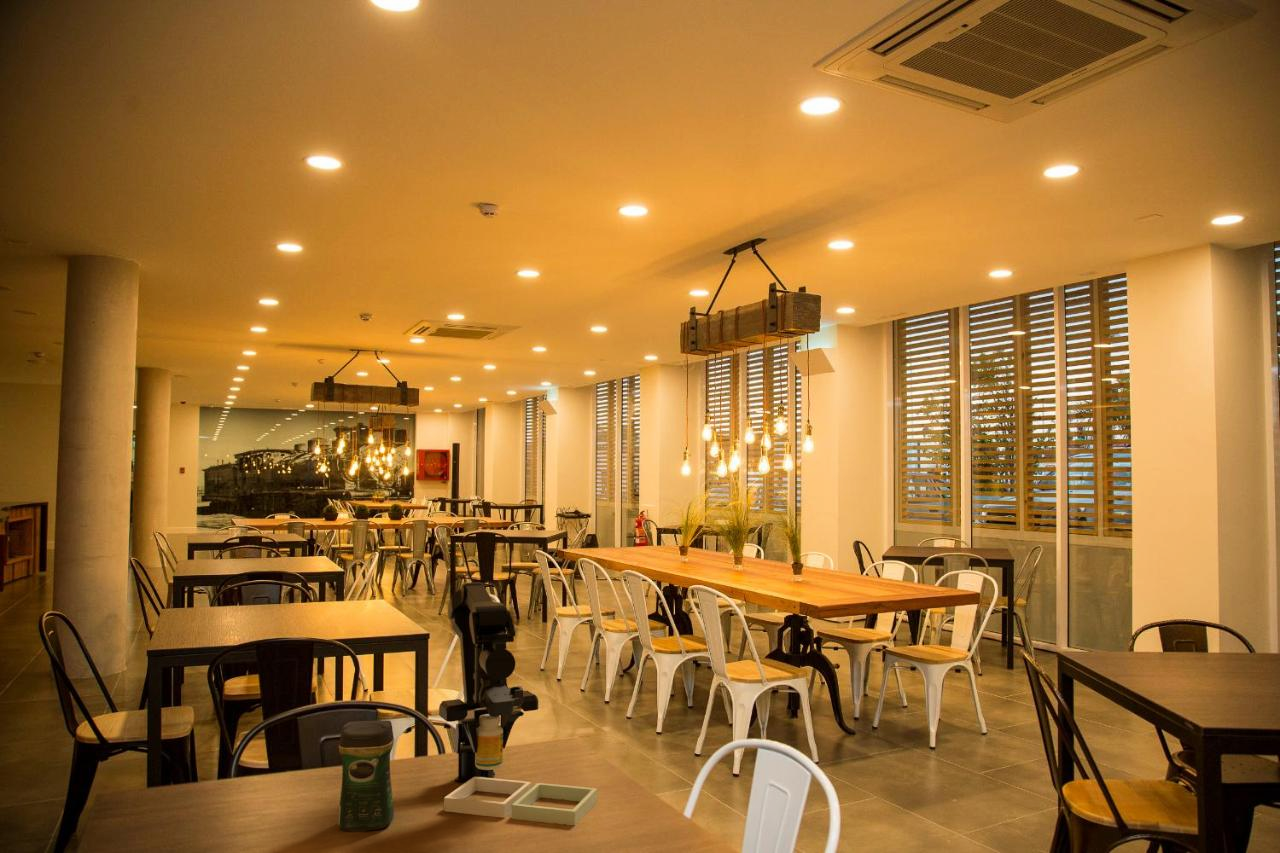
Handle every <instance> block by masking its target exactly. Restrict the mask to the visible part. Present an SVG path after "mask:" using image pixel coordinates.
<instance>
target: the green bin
mask: <svg viewBox="0 0 1280 853" xmlns="http://www.w3.org/2000/svg"><path fill="white" fill-rule="evenodd" d="M540 798H543V799H551V798H552V800H553V799H554V800H561V799H565V800H564V801H571V802H578V804H576V806H575V807H574V808H573V809H570V808H561V807H560V808H559V807H551V806H539V805H533V804H534V803H536V802H537V801H538V800H539V799H540ZM597 803H598V788H596V787H595V788H593V787H586V786H585V787H584V786H576V785H574V786H573V785H564V784H555V783H554V784H553V783H543V782H542V783H541V782H537V783H536V784H535V785H534V786H531V789H530V790H529V791H528V792H526V793H525V794H524V795H523V796H522V797H520V798H519V799H518V800H517V801H516V802H515V803H513V804H512V812H511V819H512V820H519V821H521V820H522V821H527V822H528V821H529V822H530V821H531V822H536V823H537V822H538V823H547V824H555V823H558V825H564V824H566V826H567V825H568V826H573V825H575V826H577V825H578V823H579V822H580V821H581V820H582V819H583V818H584V816H586V814H587V813H588V812H589V811H590V810H591V809H592V808H593V807H594V806H595V805H596V804H597Z"/></svg>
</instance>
